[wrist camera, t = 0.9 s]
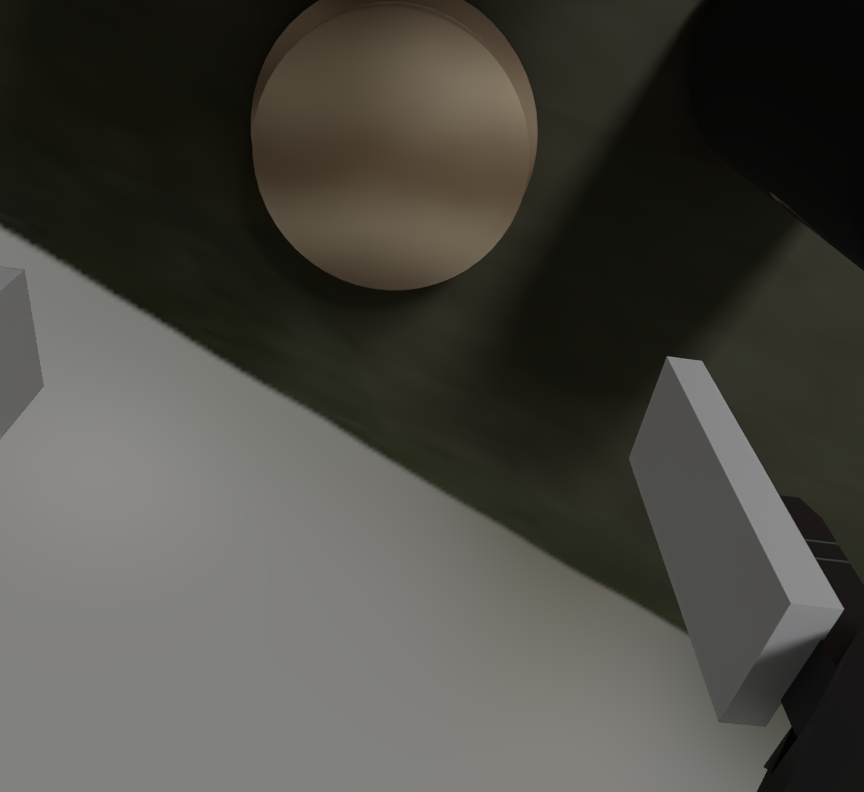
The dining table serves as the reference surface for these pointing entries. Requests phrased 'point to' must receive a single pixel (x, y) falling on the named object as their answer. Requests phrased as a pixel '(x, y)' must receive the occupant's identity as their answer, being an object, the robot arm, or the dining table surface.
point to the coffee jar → (789, 106)
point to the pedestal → (393, 138)
